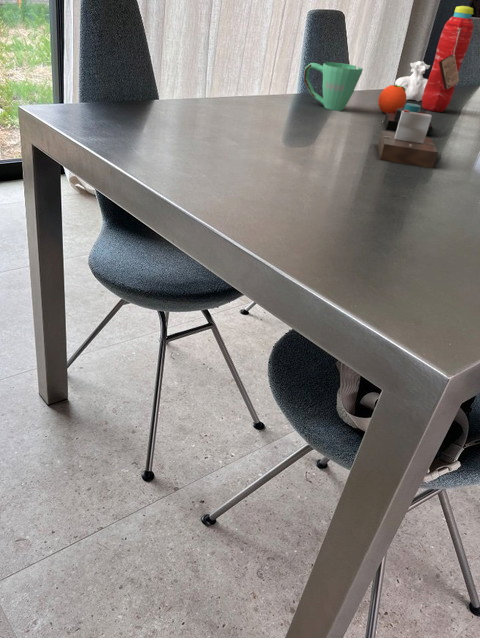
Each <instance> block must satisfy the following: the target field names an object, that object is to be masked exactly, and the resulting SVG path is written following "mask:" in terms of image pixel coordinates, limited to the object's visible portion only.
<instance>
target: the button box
mask: <svg viewBox="0 0 480 638" xmlns="http://www.w3.org/2000/svg"><path fill="white" fill-rule="evenodd" d="M403 110H404V107H403V108H399V109H397V111H396V113H395V114H394V113H386V114H385V117H384V121H383V122H384V127H385V131H389V132H396V130H397V127H398V123H399V120H400V116H401V113H402V111H403ZM419 113H422V114H426V112H424V111H421V110H420V111H419ZM433 127H434V126H433V125H432V123H431V122H430V124H429V127H428V131H427V134H426V137H428V138H431V134H432V131H433V129H434V128H433Z"/></svg>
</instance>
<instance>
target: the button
mask: <svg viewBox="0 0 480 638" xmlns="http://www.w3.org/2000/svg"><path fill="white" fill-rule="evenodd" d="M403 108H404V110H409V112H415V113H419V111H421V108H422V105H420V104H417V103H411V102H405V105H404V107H403Z"/></svg>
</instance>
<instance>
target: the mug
mask: <svg viewBox="0 0 480 638" xmlns="http://www.w3.org/2000/svg"><path fill="white" fill-rule="evenodd" d="M311 69H313V70H317V72H319V73H321V74H322V88H321V89H322V96H321V95H320V94H318V93H317V92H315V90H314V87H313V85H312V83H311V80H310V79H309V78H310V77H309V76H310V71H311ZM363 70H364V69H363V67H361V66H358V68H357V66H356V65H353V64H348V63H343V62H342V63H340V62H331V61H329V62H324V63H323V65H321V64H319V63H317V62H310V63H309V64H308V65H306V66H305V67H304V74H303V75H304V77H303V83H304V84H305V86H306V88H307V90H308V92H309V94H310V96H311V97H312V98H314V99H315V100H316V101H318V102H319V103H320V104H322V106H323V108H325V109H327V110H330V111H337V112H339V111H340V112H342V111H344V109H345V107H346V106H347V105H348V103H349V101H350V99H351V97H352V96H353V93H354V92H355V89H356V87H357V84H358V82H359V80H360V77H361V75H362V73H363Z"/></svg>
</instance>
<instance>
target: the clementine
mask: <svg viewBox="0 0 480 638" xmlns="http://www.w3.org/2000/svg"><path fill="white" fill-rule="evenodd" d="M406 103H407V100H406V93H405V88H404V87H402V86H398V85H397V84H396V85H395V84H390V85H388V86H386V87H385V88H384V89H383V90H381V92H380V94H379V96H378V100H377V104H378V107H379V109H380V111H381V112H382V113H384V114H385V115H386V113H394V114H396V111H397V109H399V108H404V107H405V104H406Z"/></svg>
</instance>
